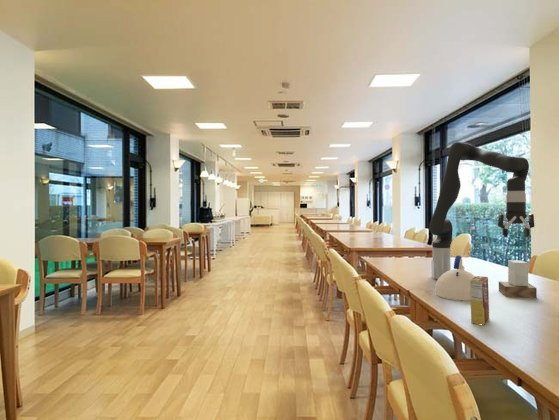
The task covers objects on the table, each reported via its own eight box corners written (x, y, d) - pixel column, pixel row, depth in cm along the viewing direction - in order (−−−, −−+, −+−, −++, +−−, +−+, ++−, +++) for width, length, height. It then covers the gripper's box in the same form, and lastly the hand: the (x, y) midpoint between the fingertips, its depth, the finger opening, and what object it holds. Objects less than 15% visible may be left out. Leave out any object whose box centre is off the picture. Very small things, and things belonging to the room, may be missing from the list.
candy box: (476, 317, 139) (476, 275, 139) (489, 319, 136) (489, 276, 136) (469, 323, 132) (469, 279, 132) (483, 325, 129) (483, 280, 129)
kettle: (485, 293, 177) (485, 254, 176) (482, 303, 159) (482, 260, 158) (438, 288, 187) (438, 251, 187) (431, 297, 169) (430, 257, 169)
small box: (528, 286, 168) (528, 262, 168) (514, 286, 169) (514, 262, 169) (521, 283, 176) (521, 260, 176) (507, 282, 177) (508, 259, 177)
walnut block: (505, 297, 169) (505, 286, 169) (498, 291, 180) (498, 281, 180) (536, 299, 165) (536, 287, 165) (527, 293, 177) (527, 282, 177)
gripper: (528, 201, 175) (528, 236, 176) (495, 201, 177) (495, 236, 178) (537, 201, 168) (537, 237, 168) (502, 201, 170) (502, 237, 170)
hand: (515, 237), depth 173 cm, fingers open, 8 cm apart
